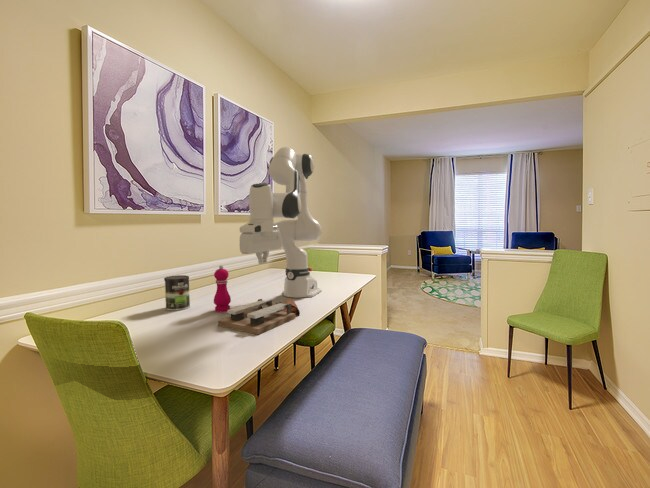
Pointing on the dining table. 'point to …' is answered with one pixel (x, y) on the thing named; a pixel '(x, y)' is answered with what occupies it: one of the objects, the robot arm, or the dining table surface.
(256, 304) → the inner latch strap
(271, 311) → the strap
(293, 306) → the sunglasses case
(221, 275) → the pepper mill
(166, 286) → the coffee can
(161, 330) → the dining table surface
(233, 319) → the base
